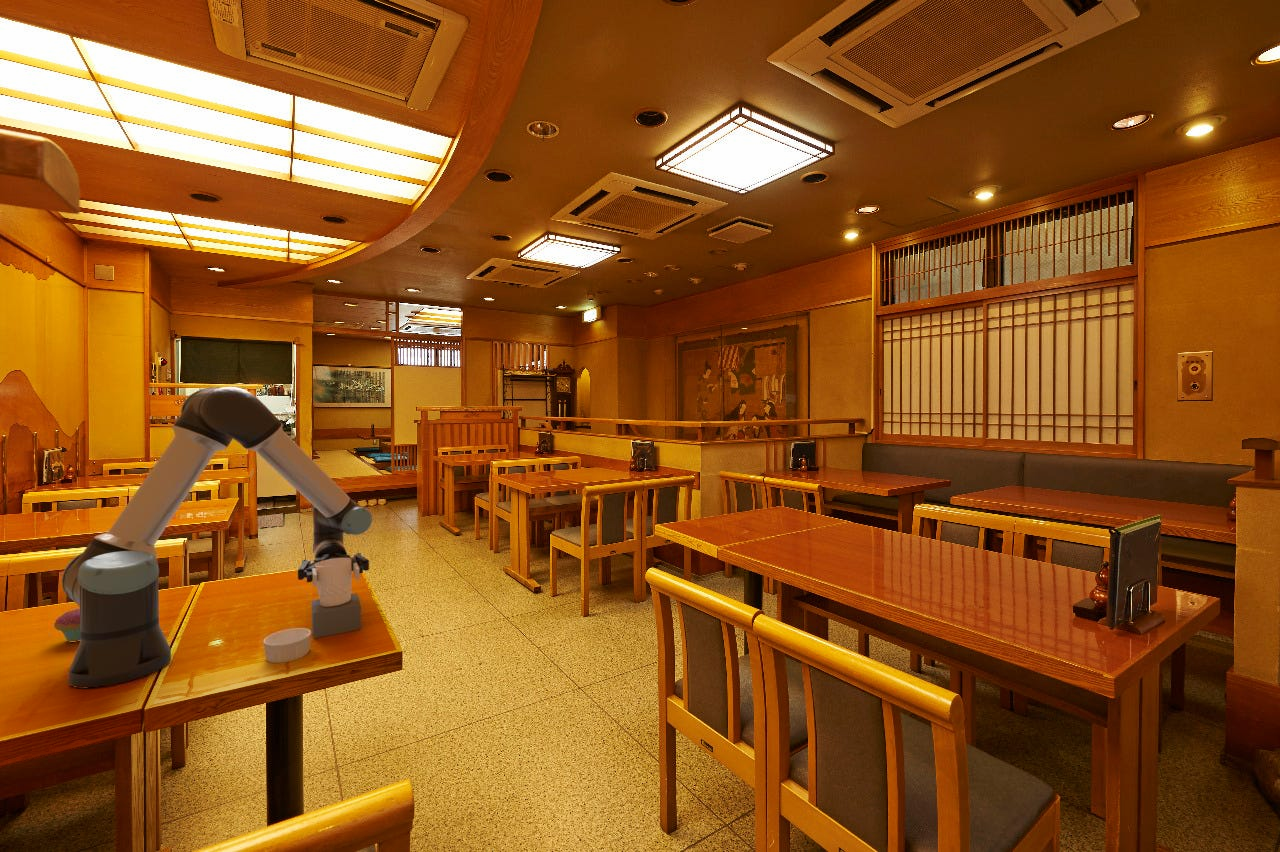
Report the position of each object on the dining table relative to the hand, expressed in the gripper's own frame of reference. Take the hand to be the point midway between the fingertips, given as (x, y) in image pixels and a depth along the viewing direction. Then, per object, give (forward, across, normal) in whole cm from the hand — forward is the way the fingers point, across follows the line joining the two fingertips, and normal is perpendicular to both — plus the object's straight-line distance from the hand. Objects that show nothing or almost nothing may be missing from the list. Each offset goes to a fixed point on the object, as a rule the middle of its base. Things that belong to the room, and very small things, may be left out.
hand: (336, 577), depth 129 cm
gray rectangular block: (-5, 0, -14) cm, 14 cm away
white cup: (-5, 0, -8) cm, 9 cm away
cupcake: (-29, +50, -14) cm, 60 cm away
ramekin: (+7, +10, -14) cm, 18 cm away
